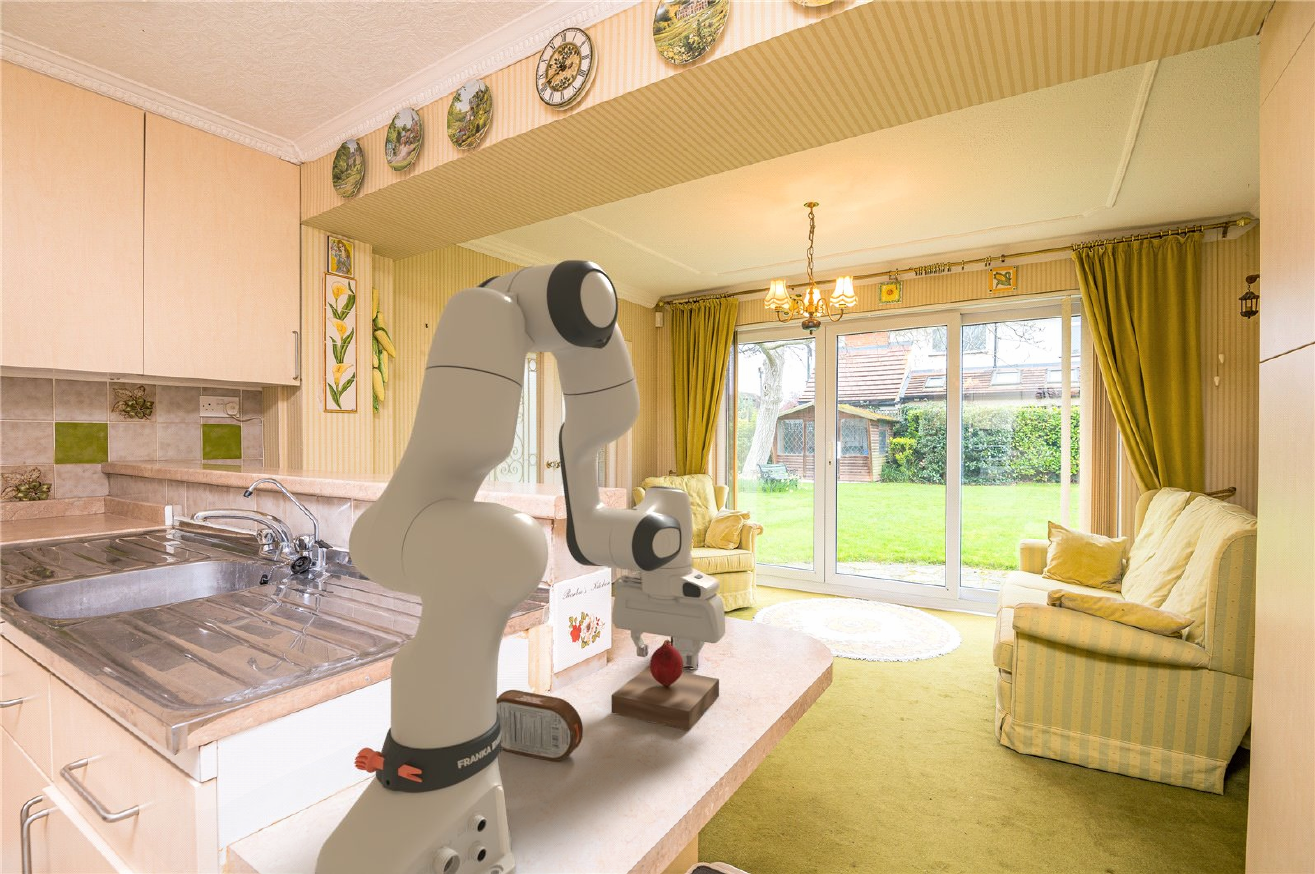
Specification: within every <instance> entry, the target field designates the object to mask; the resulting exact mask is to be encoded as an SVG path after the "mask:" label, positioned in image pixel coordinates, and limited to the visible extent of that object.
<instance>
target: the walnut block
mask: <svg viewBox="0 0 1315 874" xmlns="http://www.w3.org/2000/svg"><path fill="white" fill-rule="evenodd" d="M719 696H720V679H719V678H715V677H711V676H707V675H706V676H705V675H700V674H693V673H689V672H684V671H683V672H682V674H681V676H680V678H679V679H678V680H676V681H675V682H674V683H673V684H671V685H670V686H669V687H665V686H663V685H662V684H660V683H659V682H657V681H656V680H655V679H654V677H653V676H652V673H651V670H650V665H648V666H646V667H645V668H644V669H643V670H642V671H640V672H639V673H638V674H636V675H635V676H633V677H632V678H631V679H630V680H629V681H627V682H626V683H625V684H624V685H622V686H621V687H620V688H618V689H617V690H616V691H615V692H613V693H612V694H611V712H610V713H611V714H615V715H618V716H622V717H623V716H624V717H628V718H632V719H637V720H641V721H646V722H649V723H654V724H659V725H663V726H667V727H670V728H671V727H672V728H676V729H682V730H684V731H690V730H691V729H692V728H693V727H694V725H696V723H697V722H698V721H699V720H700V719H701V718H702V716H703V715H704V714H705V713H706V712H707V711H708V709H709V708H710V707H711V706H712V704H714V702H716V700H717V699H718V698H719Z"/></svg>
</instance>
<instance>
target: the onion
mask: <svg viewBox="0 0 1315 874" xmlns="http://www.w3.org/2000/svg"><path fill="white" fill-rule="evenodd" d="M649 666H650V670H651V673H652V676H653V677H654V679H655V680H656V681H657V682H659V683H660V684H662V685H663V686H665V687H669V686H670V685H671V684H673V683H674V682H675V681H676V680H678V679H679V678H680V676H681V674H682V672H684V669H683V667H684V664H683V659H682V656H681V654H680V653H679V652H678V650H677V649H676V648H674V647H673V646H671V640H669V639H665V640H664V642H663V644H662V645H660V646H659V647H658V648H656V650H655V651H654V652H653V654H652V655H651V658H650V661H649Z"/></svg>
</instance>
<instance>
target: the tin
mask: <svg viewBox="0 0 1315 874" xmlns="http://www.w3.org/2000/svg"><path fill="white" fill-rule="evenodd" d="M497 712H498V713H499V715H500V726H501V730H502V736H501V750H503V751H505V752H509V753H514V754H518V755H523V756H527V757H532V758H537V759H541V760H545V761H550V762H560V761H563V760H564V759H566V758H568V757H569V756H570V755H571V754H572V753H573V752H574V751H575V750H576V749H577V748H578V747H579V746H580V744H581V742H582V740H583V735H584V726H583V721H582V718H581V716H580V714H579V713H578V711H577V709H576V708H575V707H574V706H573V705H572V703H569V702H568V701H567V700H565V699H564V698H563V699H562V698H560V697H556V696H551V695H544V694H540V693H539V694H538V693H535V692H534V693H533V692H527V691H523V690H519V689H509V690H506V691H504V692H502V693H500V694H499V695H498V696H497Z"/></svg>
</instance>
